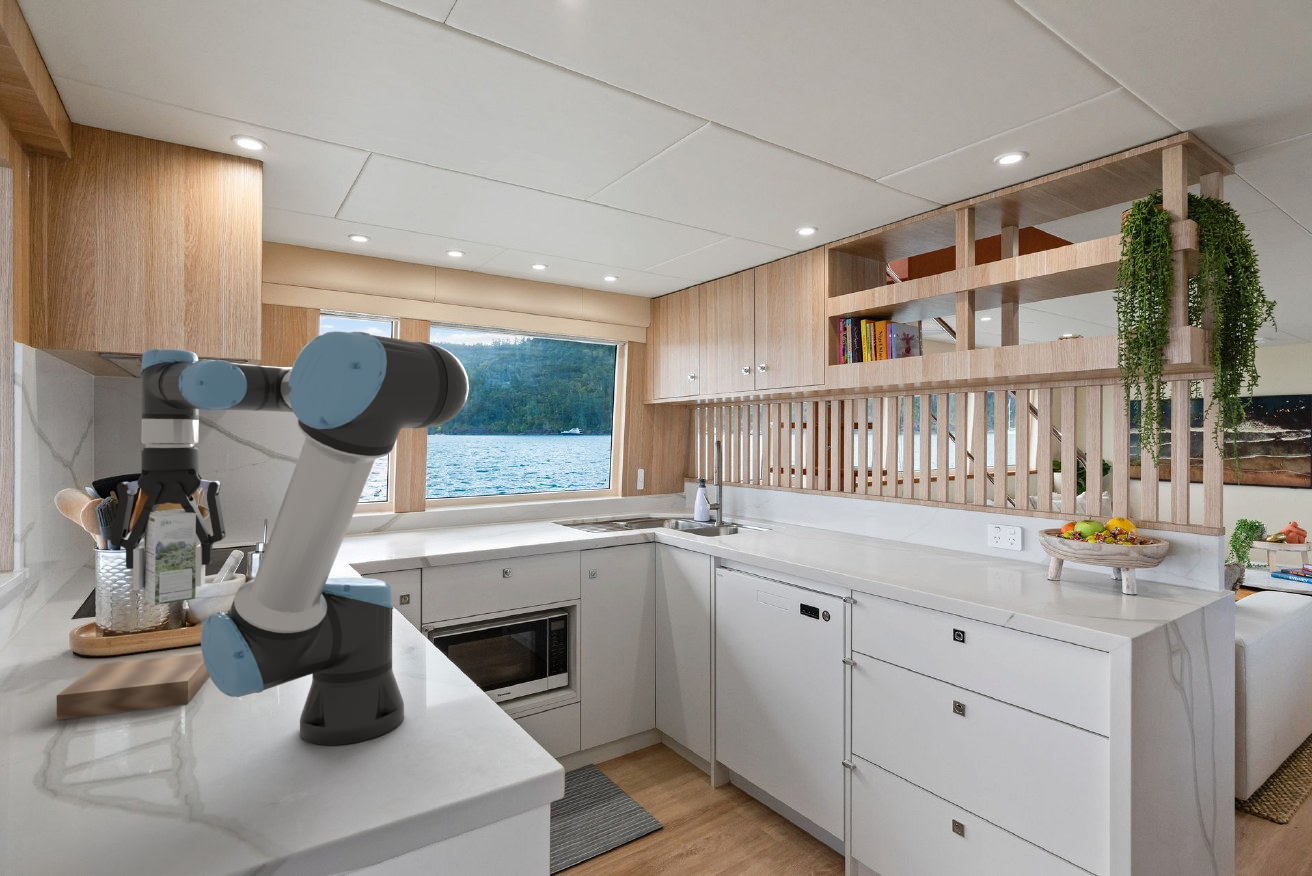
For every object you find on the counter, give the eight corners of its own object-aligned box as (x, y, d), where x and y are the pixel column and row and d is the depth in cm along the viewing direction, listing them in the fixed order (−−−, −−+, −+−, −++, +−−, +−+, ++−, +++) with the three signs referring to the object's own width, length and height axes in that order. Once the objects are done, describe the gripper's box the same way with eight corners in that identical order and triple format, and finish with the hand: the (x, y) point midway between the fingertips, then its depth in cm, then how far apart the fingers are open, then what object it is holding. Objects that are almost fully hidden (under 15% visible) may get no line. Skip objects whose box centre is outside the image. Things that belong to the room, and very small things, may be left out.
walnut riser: (212, 672, 130) (212, 652, 130) (188, 703, 115) (188, 680, 115) (98, 685, 124) (98, 663, 124) (56, 720, 109) (56, 695, 109)
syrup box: (184, 593, 113) (185, 507, 113) (196, 599, 109) (197, 510, 109) (143, 600, 109) (143, 510, 109) (154, 606, 105) (154, 514, 105)
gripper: (248, 445, 116) (247, 577, 116) (102, 445, 109) (101, 586, 109) (238, 446, 109) (238, 587, 109) (81, 446, 102) (81, 597, 102)
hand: (170, 586), depth 109 cm, fingers closed on syrup box, 8 cm apart
